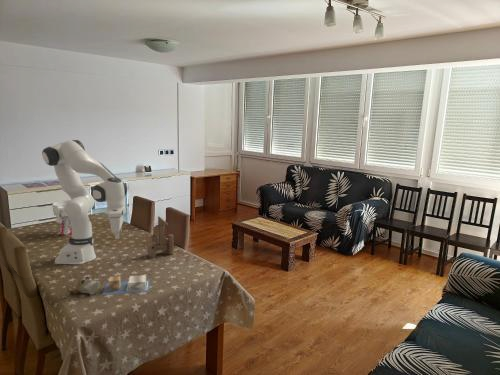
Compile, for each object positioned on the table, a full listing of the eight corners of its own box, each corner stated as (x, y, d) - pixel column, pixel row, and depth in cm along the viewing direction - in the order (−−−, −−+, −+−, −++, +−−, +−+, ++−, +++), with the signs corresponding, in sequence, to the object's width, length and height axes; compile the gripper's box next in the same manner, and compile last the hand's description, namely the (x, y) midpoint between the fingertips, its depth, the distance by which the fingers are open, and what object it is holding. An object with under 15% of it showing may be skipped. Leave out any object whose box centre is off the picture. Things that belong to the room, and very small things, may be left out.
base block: (128, 290, 178) (128, 282, 178) (130, 283, 186) (130, 276, 185) (145, 289, 180) (145, 281, 180) (146, 282, 188) (146, 275, 187)
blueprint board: (102, 297, 173) (102, 294, 173) (106, 284, 186) (106, 282, 186) (149, 293, 178) (149, 291, 178) (150, 281, 191) (150, 279, 191)
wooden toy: (150, 258, 222) (149, 219, 217) (147, 254, 228) (146, 217, 223) (174, 254, 230) (174, 216, 226) (170, 251, 236) (170, 214, 231)
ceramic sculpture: (90, 283, 168) (65, 279, 173) (92, 300, 170) (66, 296, 174) (105, 274, 178) (81, 271, 183) (107, 290, 180) (83, 287, 184)
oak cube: (108, 290, 178) (108, 281, 177) (110, 285, 182) (110, 276, 182) (119, 289, 179) (119, 280, 178) (120, 285, 184) (120, 276, 183)
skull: (51, 231, 266) (49, 201, 261) (78, 227, 277) (77, 199, 273) (57, 241, 246) (55, 209, 242) (87, 236, 258) (85, 205, 253)
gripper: (112, 205, 191) (114, 230, 194) (107, 215, 172) (109, 242, 174) (125, 204, 192) (126, 229, 195) (120, 214, 173) (122, 241, 176)
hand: (118, 235), depth 184 cm, fingers open, 8 cm apart
